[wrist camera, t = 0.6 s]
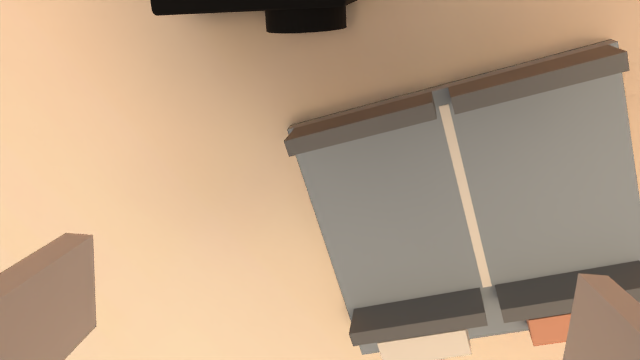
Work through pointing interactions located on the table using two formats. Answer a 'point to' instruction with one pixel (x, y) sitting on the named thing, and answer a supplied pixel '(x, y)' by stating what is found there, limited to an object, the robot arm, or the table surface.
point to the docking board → (477, 203)
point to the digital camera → (268, 12)
